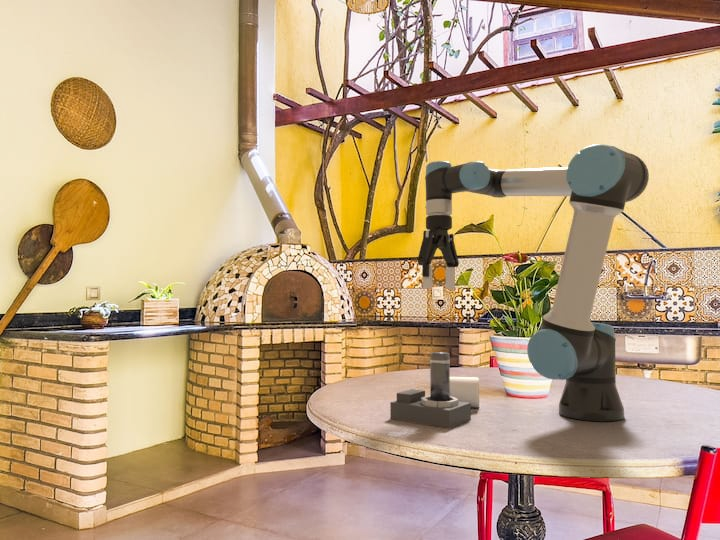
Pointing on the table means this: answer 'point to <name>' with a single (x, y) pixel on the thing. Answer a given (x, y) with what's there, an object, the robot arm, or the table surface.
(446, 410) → the camera body
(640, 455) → the table surface
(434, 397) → the dark metallic upright block
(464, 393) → the cream upright block
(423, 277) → the robot arm
